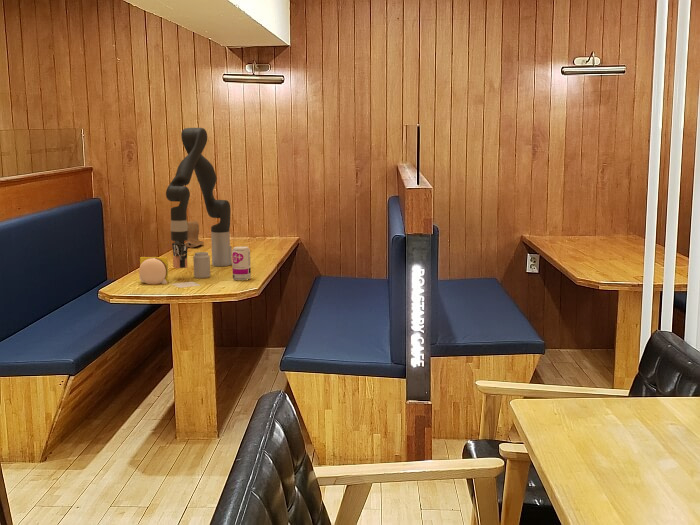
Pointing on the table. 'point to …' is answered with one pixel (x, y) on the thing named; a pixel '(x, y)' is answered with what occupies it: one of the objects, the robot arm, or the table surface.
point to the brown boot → (193, 235)
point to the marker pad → (186, 284)
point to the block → (178, 262)
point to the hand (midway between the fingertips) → (180, 266)
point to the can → (201, 265)
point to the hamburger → (153, 270)
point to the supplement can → (241, 263)
